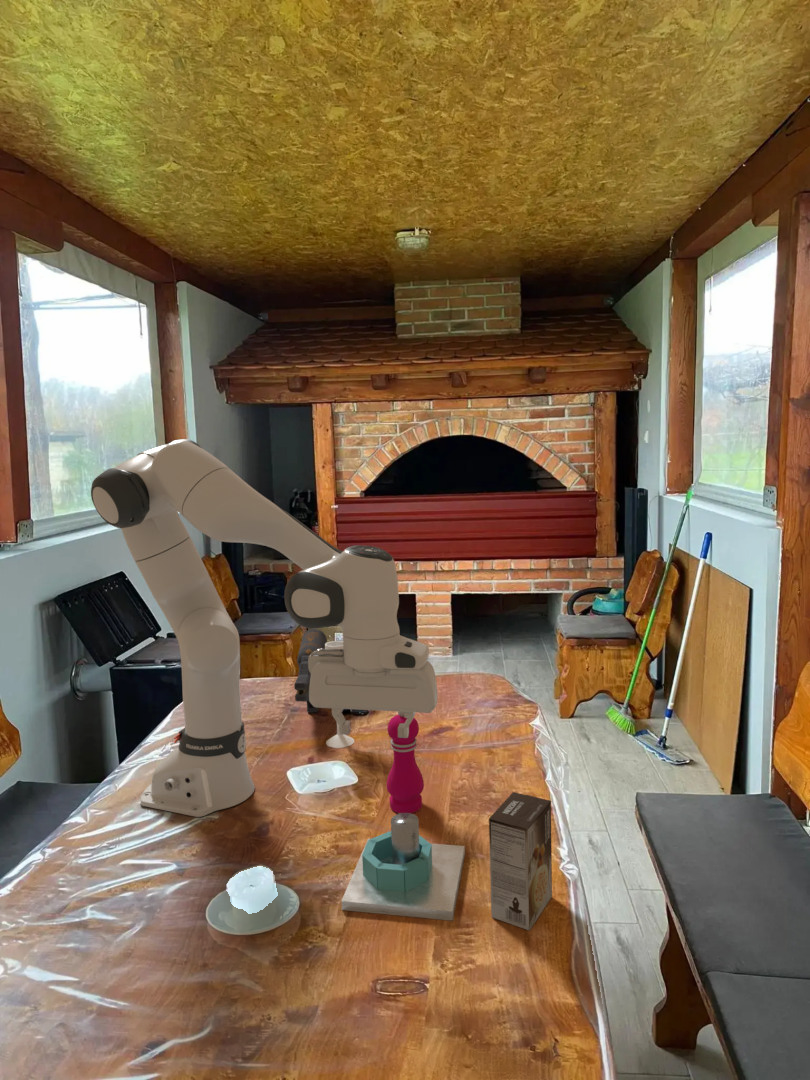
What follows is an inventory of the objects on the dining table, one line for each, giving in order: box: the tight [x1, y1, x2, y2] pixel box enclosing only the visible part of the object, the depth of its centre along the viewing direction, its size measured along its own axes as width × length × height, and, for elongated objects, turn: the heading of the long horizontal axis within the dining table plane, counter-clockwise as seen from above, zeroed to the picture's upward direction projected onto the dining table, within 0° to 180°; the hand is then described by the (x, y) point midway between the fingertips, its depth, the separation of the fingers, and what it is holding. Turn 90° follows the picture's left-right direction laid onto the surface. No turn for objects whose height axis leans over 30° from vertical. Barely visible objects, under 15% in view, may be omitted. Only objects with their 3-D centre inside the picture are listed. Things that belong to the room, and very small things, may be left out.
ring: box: [361, 830, 432, 891], centre depth 115 cm, size 11×11×4 cm
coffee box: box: [488, 791, 553, 931], centre depth 106 cm, size 9×6×16 cm
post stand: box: [340, 813, 466, 921], centre depth 114 cm, size 17×17×10 cm
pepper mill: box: [386, 711, 425, 814], centre depth 136 cm, size 7×7×20 cm
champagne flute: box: [325, 640, 355, 749], centre depth 166 cm, size 7×7×24 cm
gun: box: [294, 628, 328, 714], centre depth 184 cm, size 7×28×20 cm, turn 179°
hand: (374, 734), depth 112 cm, fingers open, 8 cm apart
